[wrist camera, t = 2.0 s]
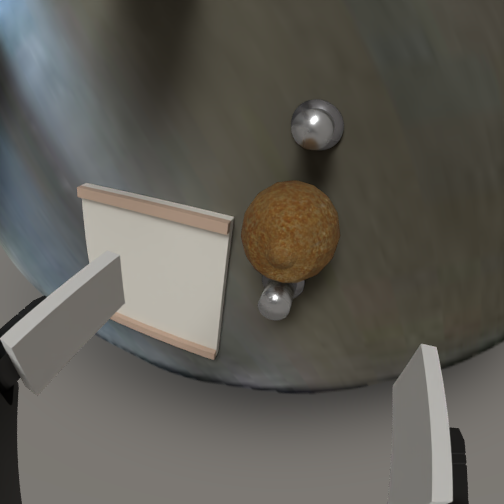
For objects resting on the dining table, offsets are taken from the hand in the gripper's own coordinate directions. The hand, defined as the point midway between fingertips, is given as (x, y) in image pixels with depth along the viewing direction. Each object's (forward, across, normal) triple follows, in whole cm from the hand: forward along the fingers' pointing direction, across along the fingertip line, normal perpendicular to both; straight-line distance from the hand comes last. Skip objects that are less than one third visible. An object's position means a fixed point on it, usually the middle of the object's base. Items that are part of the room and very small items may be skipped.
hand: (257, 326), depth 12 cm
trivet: (+13, -13, -10) cm, 21 cm away
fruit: (+13, 0, 0) cm, 13 cm away
